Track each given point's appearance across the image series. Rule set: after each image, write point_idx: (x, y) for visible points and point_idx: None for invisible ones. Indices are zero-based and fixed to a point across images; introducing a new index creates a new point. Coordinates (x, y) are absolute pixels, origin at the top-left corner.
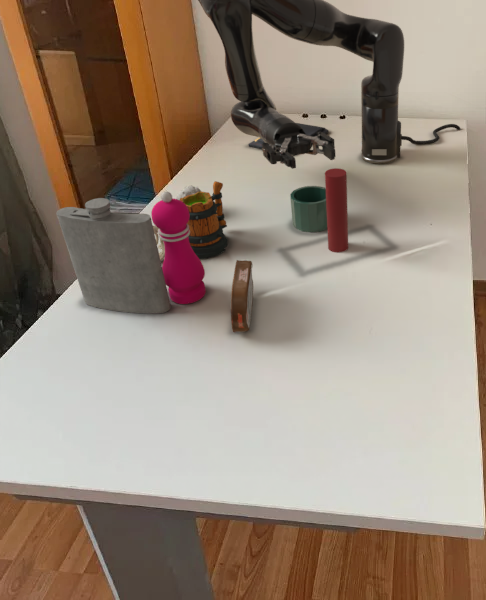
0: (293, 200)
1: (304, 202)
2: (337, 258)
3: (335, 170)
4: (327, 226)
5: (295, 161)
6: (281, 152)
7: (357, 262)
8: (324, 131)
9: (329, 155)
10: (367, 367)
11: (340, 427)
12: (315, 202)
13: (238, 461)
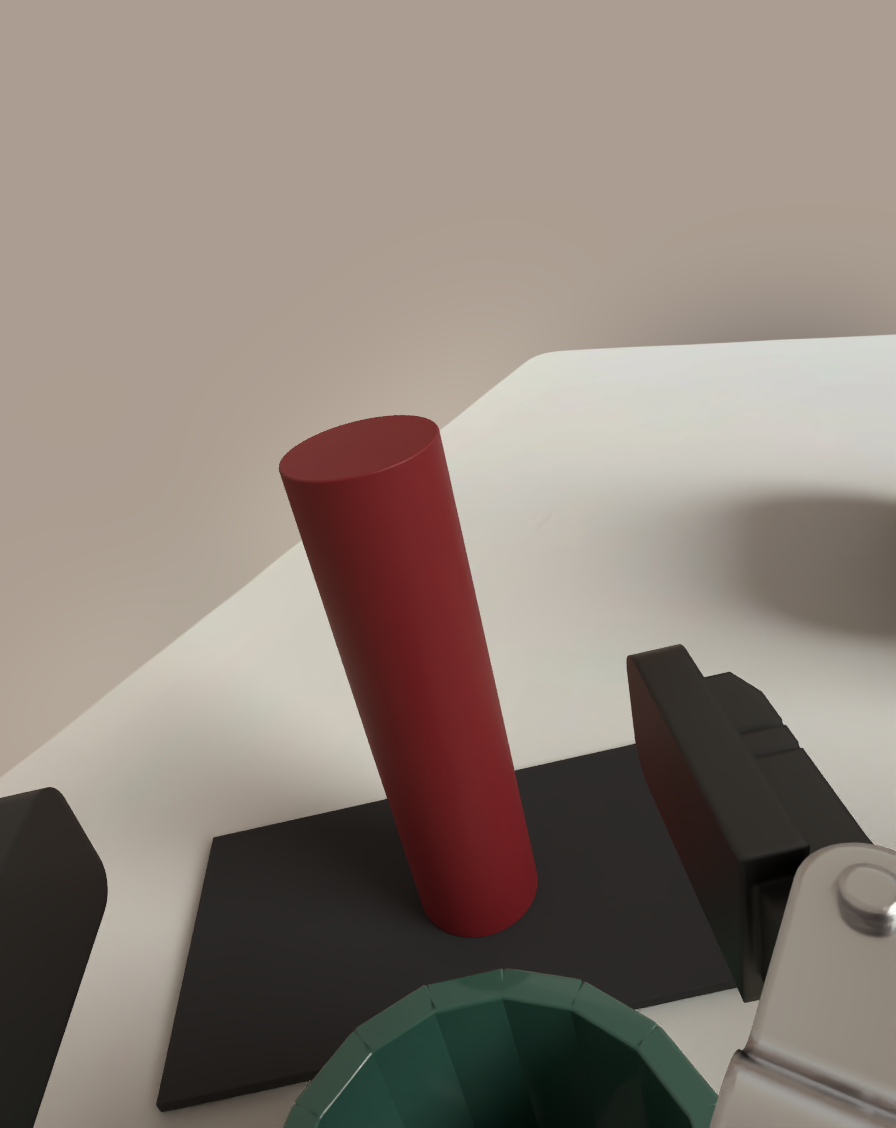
0: None
1: (610, 1021)
2: None
3: (340, 463)
4: (513, 772)
5: (629, 680)
6: (883, 856)
7: None
8: None
9: (69, 900)
10: (590, 459)
11: (676, 394)
12: (506, 985)
13: (858, 358)
